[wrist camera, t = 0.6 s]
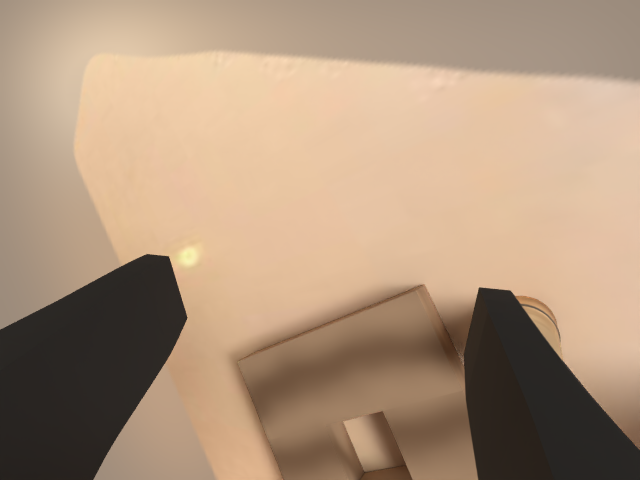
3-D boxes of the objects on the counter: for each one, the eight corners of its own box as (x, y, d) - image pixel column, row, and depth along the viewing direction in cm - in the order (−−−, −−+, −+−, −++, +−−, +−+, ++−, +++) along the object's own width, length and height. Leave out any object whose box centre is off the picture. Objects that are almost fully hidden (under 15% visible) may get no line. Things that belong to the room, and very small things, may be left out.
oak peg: (569, 344, 26) (578, 380, 21) (506, 361, 28) (500, 398, 23) (540, 286, 27) (541, 307, 22) (480, 307, 29) (468, 331, 23)
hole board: (550, 551, 28) (552, 581, 26) (339, 563, 36) (326, 587, 34) (424, 284, 30) (415, 290, 28) (254, 352, 39) (237, 361, 36)
